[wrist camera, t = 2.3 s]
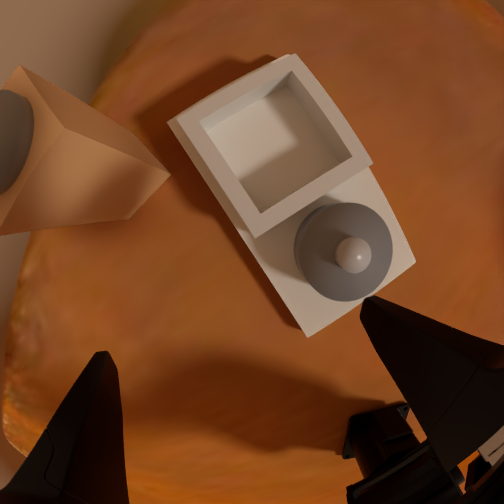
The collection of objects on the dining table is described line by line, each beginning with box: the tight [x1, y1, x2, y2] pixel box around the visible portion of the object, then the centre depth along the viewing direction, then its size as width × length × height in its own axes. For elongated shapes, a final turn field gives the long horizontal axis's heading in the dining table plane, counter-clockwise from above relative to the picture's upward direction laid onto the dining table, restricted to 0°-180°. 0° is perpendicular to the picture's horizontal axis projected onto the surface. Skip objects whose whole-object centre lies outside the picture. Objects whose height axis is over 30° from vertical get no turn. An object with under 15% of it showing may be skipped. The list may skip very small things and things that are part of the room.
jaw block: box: [0, 65, 172, 236], centre depth 12 cm, size 4×4×14 cm
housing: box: [167, 54, 416, 338], centre depth 17 cm, size 18×10×5 cm, turn 33°
